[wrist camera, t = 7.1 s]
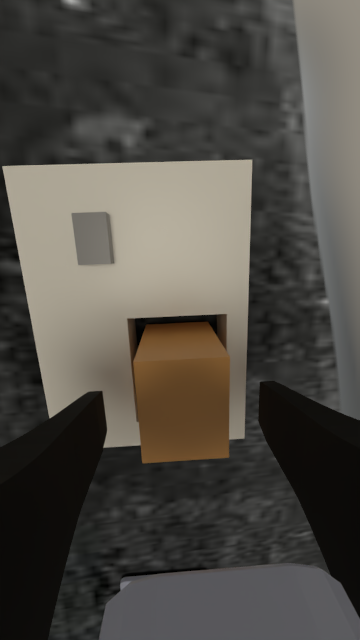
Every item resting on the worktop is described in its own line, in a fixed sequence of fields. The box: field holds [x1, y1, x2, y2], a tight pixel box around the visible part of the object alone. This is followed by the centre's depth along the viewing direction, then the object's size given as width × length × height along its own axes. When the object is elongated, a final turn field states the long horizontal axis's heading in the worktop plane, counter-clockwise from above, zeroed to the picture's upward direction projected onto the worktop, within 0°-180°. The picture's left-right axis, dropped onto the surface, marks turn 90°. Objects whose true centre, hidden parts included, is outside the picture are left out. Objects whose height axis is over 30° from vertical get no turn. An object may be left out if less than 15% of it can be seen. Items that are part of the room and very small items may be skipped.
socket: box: [2, 160, 252, 448], centre depth 15 cm, size 16×12×4 cm
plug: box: [133, 322, 230, 463], centre depth 14 cm, size 5×4×7 cm
